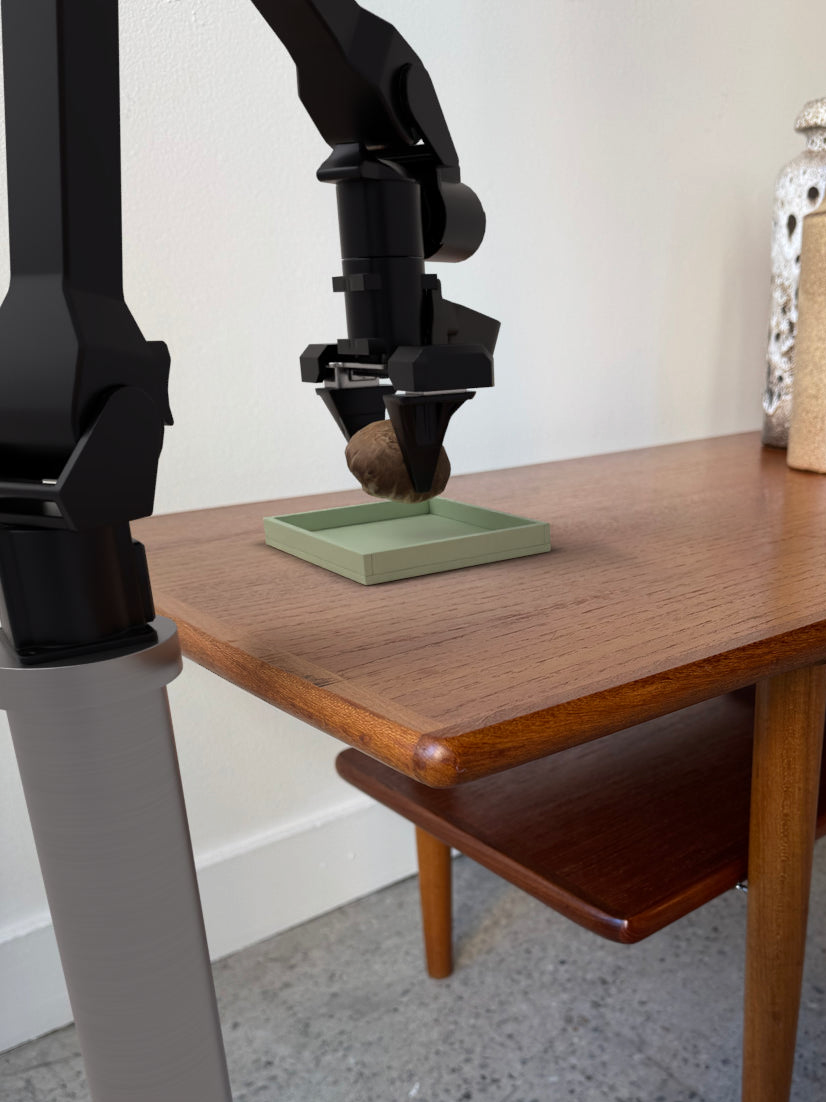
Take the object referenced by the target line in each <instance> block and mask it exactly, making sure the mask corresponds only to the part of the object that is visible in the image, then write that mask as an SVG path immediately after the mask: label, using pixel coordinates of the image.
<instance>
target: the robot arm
mask: <svg viewBox="0 0 826 1102" xmlns="http://www.w3.org/2000/svg"><path fill="white" fill-rule="evenodd" d="M250 2H251V3H252V5H253V6H254V7H255V9H256V10H257V11H258V13H259V14H260V15H261V17H262V18H263V19H264V21H265V22H266V23H267V25H268V26H269V27H270V29H271V30H272V32H273V33H274V34H275V35H276V37H277V38H278V40H279V41H280V43H281V44H282V45H283V47H284V48H285V49H286V51H287V53H288V55H289V56H290V58H291V60H292V61H293V63H294V65H295V71H296V72H295V74H296V89H297V97H298V100H299V101H300V102H301V104H302V106H303V107H304V109H305V112H306V113H307V114H308V116H309V118H310V120H311V121H312V123H313V124H314V126H315V128H316V129H317V131H318V133H319V135H320V136H321V138H322V139H323V140H324V142H325V144H327V145H328V146H329V147H330V148H331V150H332V152H331V153H330V154H329V156H328V157H327V158H326V159H325V160H324V161H322V163H321V164H320V165H319V167H318V168H317V169H316V172H315V177H316V179H317V181H318V182H320V183H324V184H331V185H335V197H336V209H337V221H338V232H339V233H338V234H339V235H338V236H339V246H340V258H341V271H342V275H340V276H339V275H338V276H331V283H332V293H343V297H344V308H345V309H344V310H345V319H346V322H345V323H346V332H347V338H337V339H336V342H327V343H309V344H308V345H307V346H306V348H305V349H304V350H303V351H302V353H301V354H300V356H299V367H300V368H299V369H300V378H301V383H307V384H308V383H309V384H323V386H324V387H315V388H314V391H315V394H316V396H319V397H320V398H321V400H322V401H323V403H324V405H325V406H326V408H327V410H328V411H329V414H330V415H331V416H332V419H333V420H334V422H335V423H336V425H337V427H338V429H339V430H340V432H341V433H342V435H343V437H344V439H345V441H346V442H347V444H348V443H349V441H350V439H351V438H352V436H353V435H355V434H356V433H357V432H358V431H360V430H361V429H363V428H364V427H366V426H368V425H369V424H371V423H373V422H378V421H382V420H386V412H387V414H388V419H390V421H391V424H392V426H393V429H394V432H395V436H396V439H397V442H398V445H399V448H400V451H401V454H402V457H403V460H404V463H405V466H406V469H407V472H408V475H409V477H410V480H411V482H412V485H413V487H414V490H415V492H416V493H427V492H429V491H430V490H431V487H432V484H433V480H434V476H435V472H436V468H437V464H438V460H439V456H440V452H441V448H442V445H444V441H445V437H446V433H447V431H448V427H449V424H450V421H451V419H452V417H453V415H454V414H455V413H456V412H457V411H459V409H460V408H462V406H463V405H464V404H465V403H466V402H467V401H469V400H473V399H474V398H475V396H476V394H477V391H476V390H472V389H485V388H486V389H487V388H494V387H495V384H496V383H495V359H494V354H495V349H496V345H497V341H498V337H499V334H500V331H501V330H500V329H501V326H502V322H501V321H500V320H498V319H496V318H493V317H492V316H489V315H486V314H485V313H482V312H479V311H477V310H475V309H472V308H470V307H468V306H465V305H463V304H462V303H461V304H460V303H457V302H454V301H451V300H448V299H446V298H444V297H443V292H442V281H441V279H440V278H438V273H426V263H427V262H428V263H444V264H457V263H461V262H464V261H466V260H468V259H470V258H471V257H473V256H474V255H475V253H476V252H477V251H478V250H479V248H480V247H481V245H482V243H483V241H484V237H485V234H486V230H487V229H486V228H487V215H486V211H485V210H484V207H483V204H482V202H481V200H480V198H479V196H478V194H477V193H476V192H475V191H474V190H473V189H472V188H471V187H470V186H468V185H467V184H465V183H464V182H462V179H461V177H462V176H461V175H462V174H461V167H460V158H459V155H458V152H457V149H456V147H455V144H454V141H453V138H452V135H451V132H450V129H449V126H448V123H447V120H446V117H445V115H444V111H443V108H442V106H441V103H440V101H439V97H438V94H437V92H436V89H435V86H434V83H433V80H432V77H431V75H430V73H429V71H428V70H427V68H426V67H425V65H424V63H423V61H422V59H421V57H420V56H419V55H418V54H417V51H415V50H414V49H413V47H412V46H411V44H409V43H408V41H407V40H406V39H405V37H404V36H403V35H402V34H401V33H400V31H399V30H398V29H397V28H396V27H395V25H394V24H393V23H391V22H389V21H387V20H386V19H385V18H383V17H381V16H379V15H377V14H375V13H374V12H372V11H370V10H368V9H366V8H365V7H363V6H361V5H360V4H359V3H358V2H357V0H250ZM119 3H120V2H119V0H0V21H1V22H0V23H1V45H2V46H1V47H2V48H1V50H2V51H1V52H2V78H3V79H2V81H3V106H4V108H3V109H4V110H3V111H4V135H5V160H6V161H5V162H6V163H5V164H6V165H5V166H6V191H7V218H8V219H7V221H8V223H7V225H8V247H9V250H8V251H9V283H8V285H9V286H8V290H7V292H6V294H5V296H4V298H3V301H2V303H0V304H1V305H0V642H1V643H2V644H3V645H4V647H5V648H6V649H7V650H8V651H9V653H10V654H11V655H12V656H13V658H14V659H15V660H16V661H17V663H18V664H19V665H23V666H27V665H34V664H39V663H45V662H50V661H55V660H60V659H65V658H70V657H75V656H81V655H86V654H91V653H96V652H101V651H106V650H111V649H117V648H122V647H127V646H132V645H137V644H142V643H147V642H152V641H155V640H157V639H158V634H157V630H156V629H155V628H153V627H152V626H151V625H149V624H148V623H149V622H153V621H154V619H155V618H156V615H157V614H156V609H155V603H154V596H153V590H152V584H151V576H150V571H149V566H148V559H147V553H146V547H145V544H144V543H143V542H141V541H140V540H138V539H137V538H135V537H133V535H132V530H131V524H130V522H133V521H137V520H141V519H144V518H149V517H151V516H152V515H153V514H154V507H155V497H156V489H157V480H158V479H157V478H158V470H159V462H160V461H159V460H160V457H161V456H162V455H161V454H162V451H163V448H164V440H165V439H164V437H165V430H166V429H165V427H172V426H174V425H175V419H174V416H173V413H172V410H171V405H170V396H169V395H170V394H169V383H170V382H169V381H170V371H171V364H172V357H171V354H170V350H169V346H168V344H167V343H166V341H164V340H147V338H146V337H145V336H144V334H143V332H142V330H141V328H140V327H139V325H138V322H137V321H136V319H135V317H134V315H133V313H132V311H131V310H130V308H129V306H128V304H127V302H126V300H125V294H124V270H123V269H124V260H123V259H124V257H123V255H124V253H123V203H122V202H123V201H122V200H123V199H122V198H123V197H122V193H123V192H122V141H121V139H122V137H121V136H122V135H121V134H122V133H121V132H122V131H121V76H120V75H121V74H120V72H121V70H120V67H121V66H120V16H119V15H120V11H119V9H120V7H119ZM420 141H422V143H420ZM386 379H389V381H390V383H380V380H386ZM470 389H471V390H470ZM398 391H400V392H405V393H397V392H398Z"/></svg>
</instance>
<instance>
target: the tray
mask: <svg viewBox="0 0 826 1102" xmlns="http://www.w3.org/2000/svg"><path fill="white" fill-rule="evenodd" d="M262 521H263V522H262V523H263V530H264V538H265V545H267V546H270V547H272V548H275V549H277V550H280V551H282V552H284V553H287V554H289V555H291V556H294V557H296V558H298V559H301V560H303V561H306V562H309V563H310V564H313V565H316V566H318V567H320V568H323V569H325V570H328V571H330V572H331V573H335V574H337V575H339V576H342V577H345V578H347V579H349V580H352V581H354V582H356V583H359V584H361V585H364V586H371V585H376V584H382V583H387V582H392V581H397V580H403V579H409V578H414V577H419V576H426V575H430V574H435V573H441V572H446V571H453V570H456V569H461V568H467V567H473V566H479V565H483V564H489V563H495V562H501V561H505V560H512V559H516V558H520V557H526V556H533V555H537V554H544V553H549V552H551V549H552V548H551V547H552V546H551V523H550V522H547V521H543V520H539V519H534V518H531V517H526V516H522V515H519V514H518V515H517V514H514V513H510V512H506V511H503V510H497V509H493V508H489V507H485V506H481V505H477V504H473V503H469V502H464V501H461V500H456V499H452V498H447V497H444V496H440V495H437V496H435V497H434V498H432V499H430V500H428V501H425V502H420V503H416V504H405V503H399V502H394V501H391V500H388V499H385V500H381V501H379V500H378V501H372V502H366V503H358V504H352V505H344V506H337V507H330V508H323V509H315V510H309V511H301V512H295V513H294V512H293V513H287V514H279V515H272V516H265V517H262Z"/></svg>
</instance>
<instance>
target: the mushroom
mask: <svg viewBox="0 0 826 1102" xmlns="http://www.w3.org/2000/svg"><path fill="white" fill-rule="evenodd" d="M344 456H345V459H346V460H345V461H346V465H347V468H348V471H349V472H350V473H351V474H352V476H353V477H354V478H355V479H356V480H357V481H358V482H359V483H360V485H361V489H362V491H363V492H364V493H365V494H367V495H368V496H371V497H374V498H377V499H385V500H391V501H394V502H399V503H405V504H416V503H420V502H425V501H428V500H430V499H432V498H434V497H435V496H440V495H441V494H442V493H443V492H445V489H446V487H447V485H448V483H449V479H450V477H451V473H452V466H451V465H452V463H451V461H450V458H449V455H448V452H447V451H446V448H445V446H444V444H442V448H441V452H440V456H439V460H438V464H437V468H436V472H435V476H434V480H433V484H432V487H431V490H430V491H429V492H427V493H416V492H415V490H414V487H413V485H412V482H411V480H410V477H409V475H408V472H407V469H406V466H405V463H404V460H403V457H402V454H401V451H400V448H399V445H398V442H397V439H396V436H395V432H394V429H393V426H392V424H391V421H390V418H387V419H385V420H382V421H378V422H373V423H371V424H369V425H368V426H366V427H364V428H363V429H361V430H360V431H358V432H357V433H356V434H355V435H353V436H352V438H351V439H350V441H349V443H347V445H346V446H345V449H344Z"/></svg>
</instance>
